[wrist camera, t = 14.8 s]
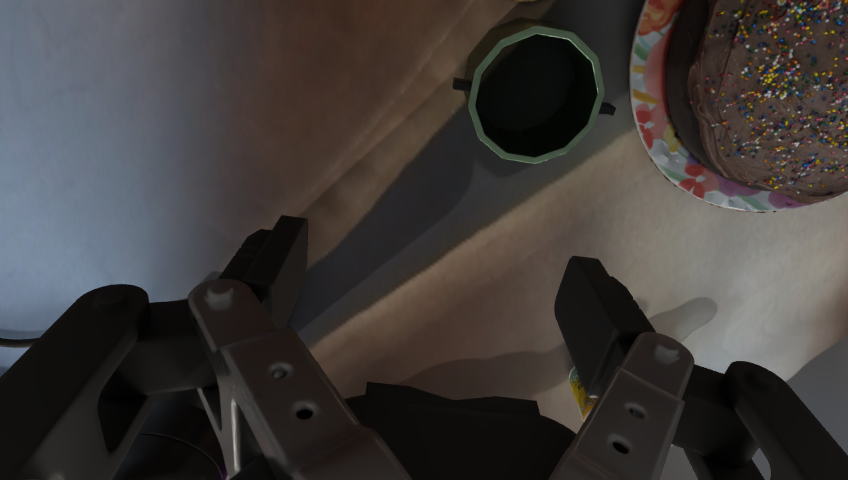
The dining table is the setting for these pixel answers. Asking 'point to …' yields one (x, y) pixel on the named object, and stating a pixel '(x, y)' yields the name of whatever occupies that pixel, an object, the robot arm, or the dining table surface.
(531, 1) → the coaster
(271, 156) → the dining table surface
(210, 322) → the robot arm
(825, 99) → the chocolate cake
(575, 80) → the cooking pot
